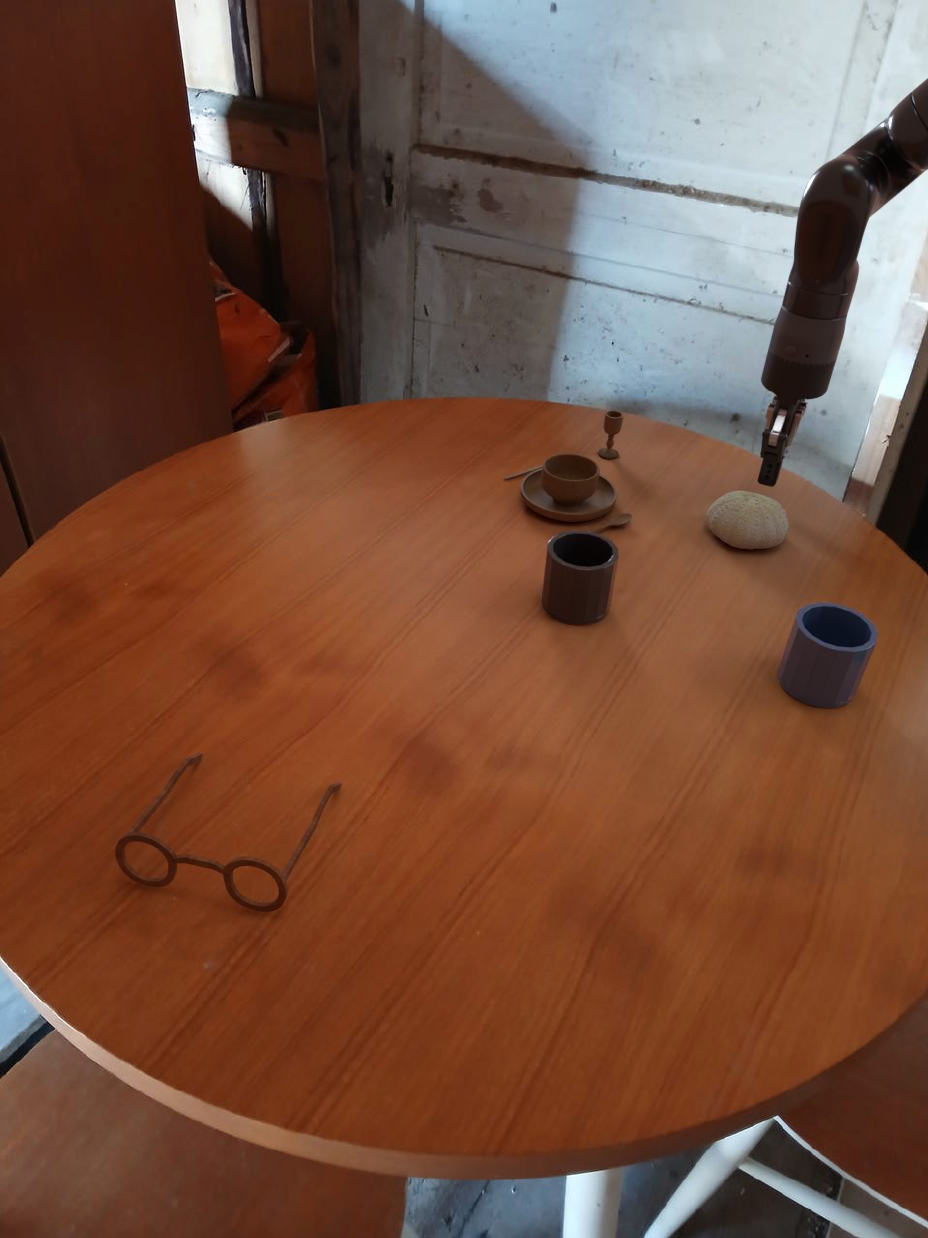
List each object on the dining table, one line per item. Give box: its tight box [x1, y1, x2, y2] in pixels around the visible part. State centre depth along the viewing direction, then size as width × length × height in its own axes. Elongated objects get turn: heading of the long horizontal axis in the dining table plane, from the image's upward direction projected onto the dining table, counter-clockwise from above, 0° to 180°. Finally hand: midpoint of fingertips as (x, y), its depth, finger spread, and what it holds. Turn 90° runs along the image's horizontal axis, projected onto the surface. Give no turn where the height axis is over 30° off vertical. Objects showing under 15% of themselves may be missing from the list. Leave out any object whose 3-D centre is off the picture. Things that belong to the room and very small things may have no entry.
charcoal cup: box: [541, 529, 620, 626], centre depth 94 cm, size 7×7×7 cm
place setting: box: [503, 409, 633, 533], centre depth 113 cm, size 18×20×6 cm
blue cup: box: [777, 601, 879, 709], centre depth 85 cm, size 7×7×7 cm
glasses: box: [114, 752, 343, 913], centre depth 69 cm, size 13×13×5 cm
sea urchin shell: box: [705, 490, 789, 550], centre depth 107 cm, size 9×8×8 cm
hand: (766, 482), depth 113 cm, fingers closed
